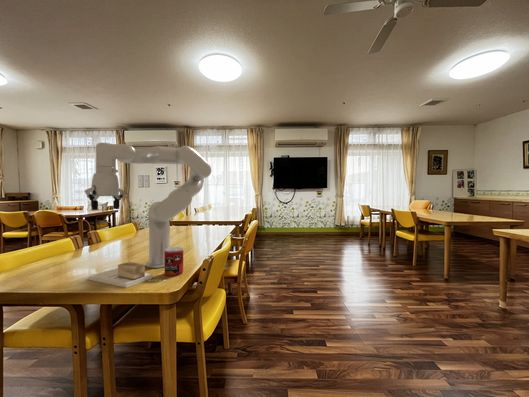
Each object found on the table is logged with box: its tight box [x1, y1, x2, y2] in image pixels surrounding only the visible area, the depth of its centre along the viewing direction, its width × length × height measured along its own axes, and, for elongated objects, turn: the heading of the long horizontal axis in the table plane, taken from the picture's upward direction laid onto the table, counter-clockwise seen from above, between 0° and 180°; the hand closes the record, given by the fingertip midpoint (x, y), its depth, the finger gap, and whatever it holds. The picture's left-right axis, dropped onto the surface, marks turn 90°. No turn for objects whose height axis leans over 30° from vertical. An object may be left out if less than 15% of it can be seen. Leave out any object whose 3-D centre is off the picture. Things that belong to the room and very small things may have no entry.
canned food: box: [164, 246, 184, 277], centre depth 107 cm, size 8×8×11 cm
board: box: [88, 267, 154, 288], centre depth 100 cm, size 12×22×2 cm, turn 67°
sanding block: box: [117, 261, 146, 280], centre depth 98 cm, size 5×9×5 cm, turn 67°
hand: (106, 209), depth 108 cm, fingers open, 9 cm apart
